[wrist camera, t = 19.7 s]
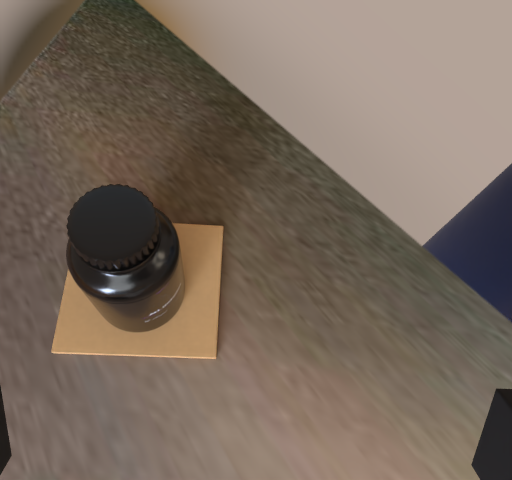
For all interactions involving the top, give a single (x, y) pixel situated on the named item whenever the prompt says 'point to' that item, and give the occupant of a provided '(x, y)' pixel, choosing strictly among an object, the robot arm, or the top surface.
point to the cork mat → (168, 335)
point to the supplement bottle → (125, 258)
